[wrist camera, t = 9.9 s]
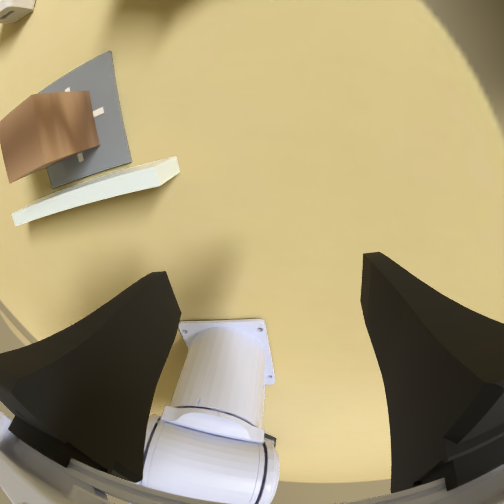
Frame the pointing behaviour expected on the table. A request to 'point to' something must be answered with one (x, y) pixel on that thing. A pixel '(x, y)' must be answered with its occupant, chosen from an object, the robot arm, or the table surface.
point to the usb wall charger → (15, 9)
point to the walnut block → (46, 131)
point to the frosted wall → (100, 189)
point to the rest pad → (106, 120)
